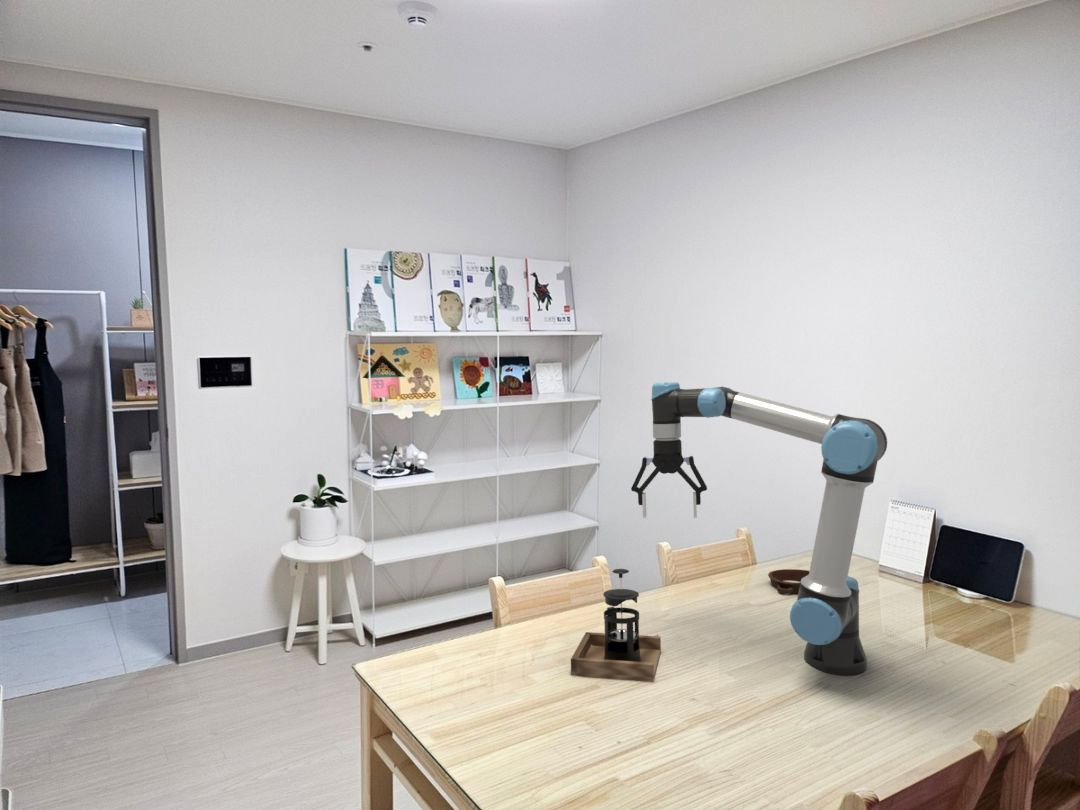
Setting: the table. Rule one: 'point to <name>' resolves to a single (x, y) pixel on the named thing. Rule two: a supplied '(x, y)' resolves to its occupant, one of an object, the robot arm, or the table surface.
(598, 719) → the table surface
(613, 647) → the french press
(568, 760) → the table surface
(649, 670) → the wooden tray
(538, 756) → the table surface
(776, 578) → the dish
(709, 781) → the table surface
